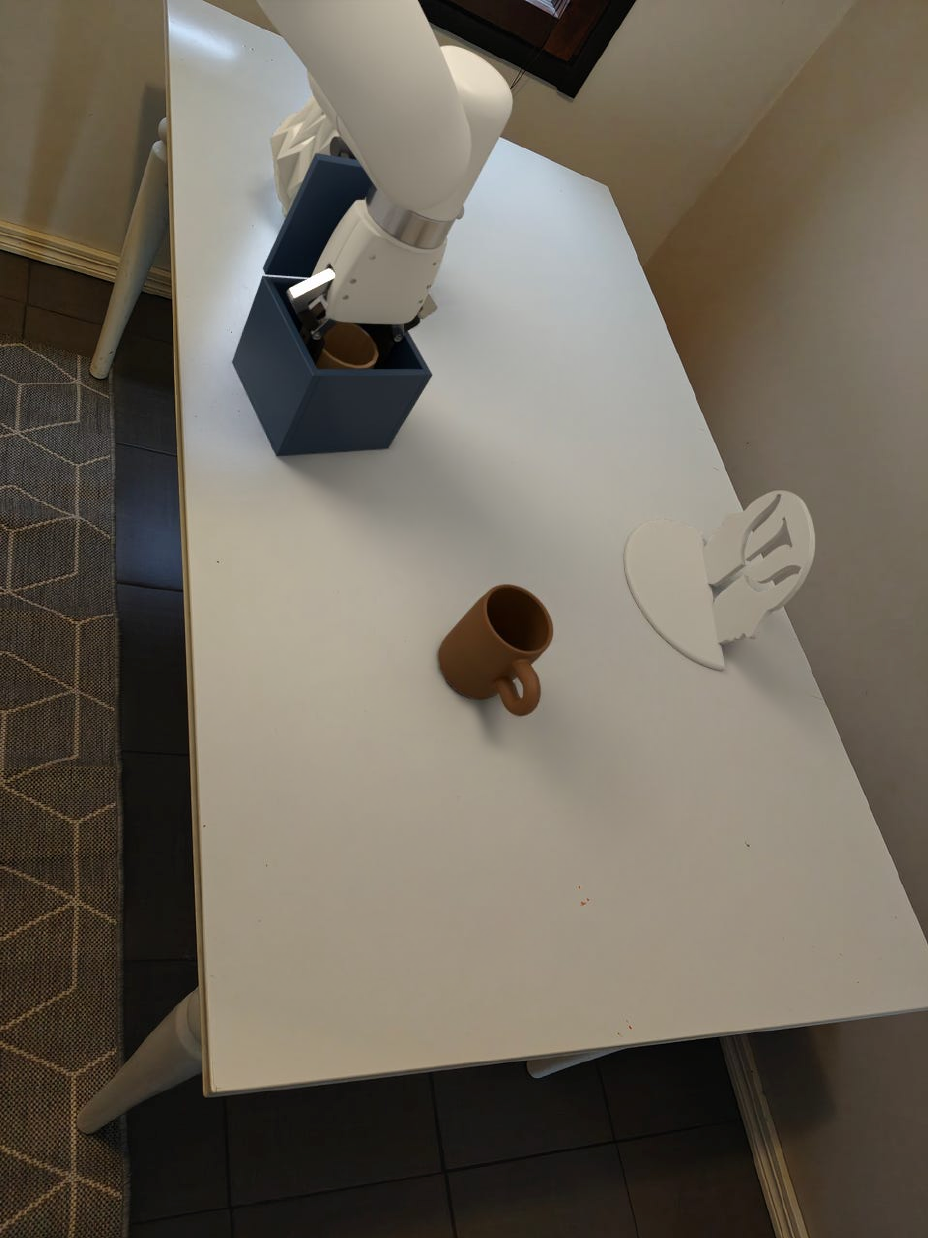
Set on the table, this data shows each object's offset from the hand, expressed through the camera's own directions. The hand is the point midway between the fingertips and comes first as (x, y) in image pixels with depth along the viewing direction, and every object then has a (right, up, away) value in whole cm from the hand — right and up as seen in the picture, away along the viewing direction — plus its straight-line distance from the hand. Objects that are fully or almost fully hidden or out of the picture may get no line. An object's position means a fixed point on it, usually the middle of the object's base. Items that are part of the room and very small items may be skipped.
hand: (337, 359), depth 86 cm
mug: (+14, -33, -4) cm, 36 cm away
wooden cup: (-3, -3, +5) cm, 7 cm away
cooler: (-4, -3, +6) cm, 7 cm away
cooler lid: (+3, +10, -6) cm, 12 cm away
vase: (-6, +24, +23) cm, 33 cm away
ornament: (+38, -22, +19) cm, 47 cm away
